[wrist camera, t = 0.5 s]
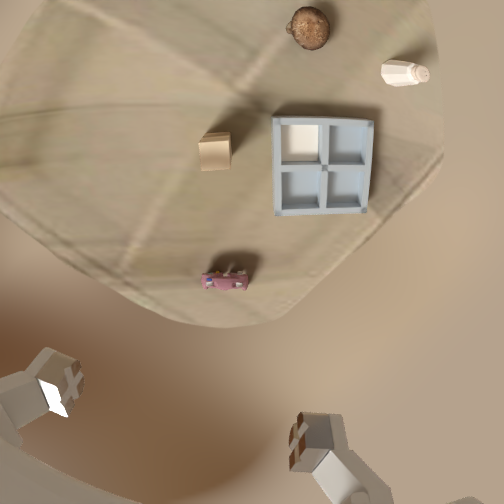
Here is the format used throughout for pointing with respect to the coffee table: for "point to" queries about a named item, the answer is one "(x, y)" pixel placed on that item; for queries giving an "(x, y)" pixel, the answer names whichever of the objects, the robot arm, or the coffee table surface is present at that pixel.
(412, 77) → the pepper shaker
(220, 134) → the birch block
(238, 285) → the video game controller
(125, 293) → the coffee table surface
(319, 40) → the mushroom
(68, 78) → the coffee table surface
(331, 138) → the divided tray
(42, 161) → the coffee table surface
